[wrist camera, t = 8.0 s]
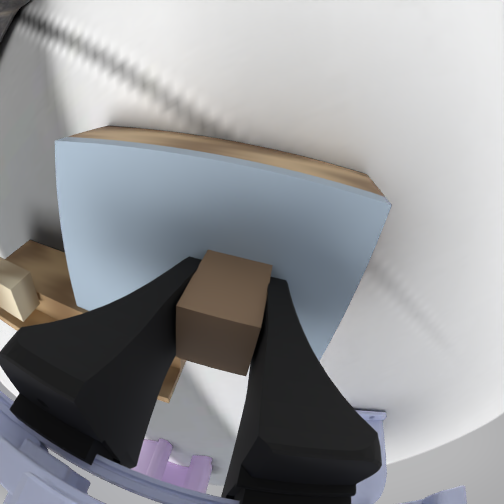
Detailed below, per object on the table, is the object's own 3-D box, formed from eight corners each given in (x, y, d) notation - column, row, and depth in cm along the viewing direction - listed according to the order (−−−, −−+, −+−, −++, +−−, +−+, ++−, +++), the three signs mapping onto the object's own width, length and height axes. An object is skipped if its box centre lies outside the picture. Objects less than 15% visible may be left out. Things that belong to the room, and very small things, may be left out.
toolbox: (366, 174, 12) (414, 236, 7) (300, 345, 18) (294, 432, 12) (18, 125, 13) (-55, 152, 7) (35, 264, 19) (-13, 309, 13)
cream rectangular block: (30, 271, 13) (10, 290, 11) (40, 303, 14) (23, 321, 12) (-12, 251, 13) (-29, 265, 11) (-2, 280, 14) (-18, 294, 12)
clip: (187, 476, 43) (179, 504, 37) (129, 452, 41) (117, 480, 35) (228, 461, 33) (218, 502, 27) (145, 429, 31) (129, 470, 25)
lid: (378, 188, 10) (426, 253, 6) (311, 348, 15) (308, 430, 10) (81, 132, 11) (-3, 162, 6) (93, 287, 15) (45, 344, 11)
